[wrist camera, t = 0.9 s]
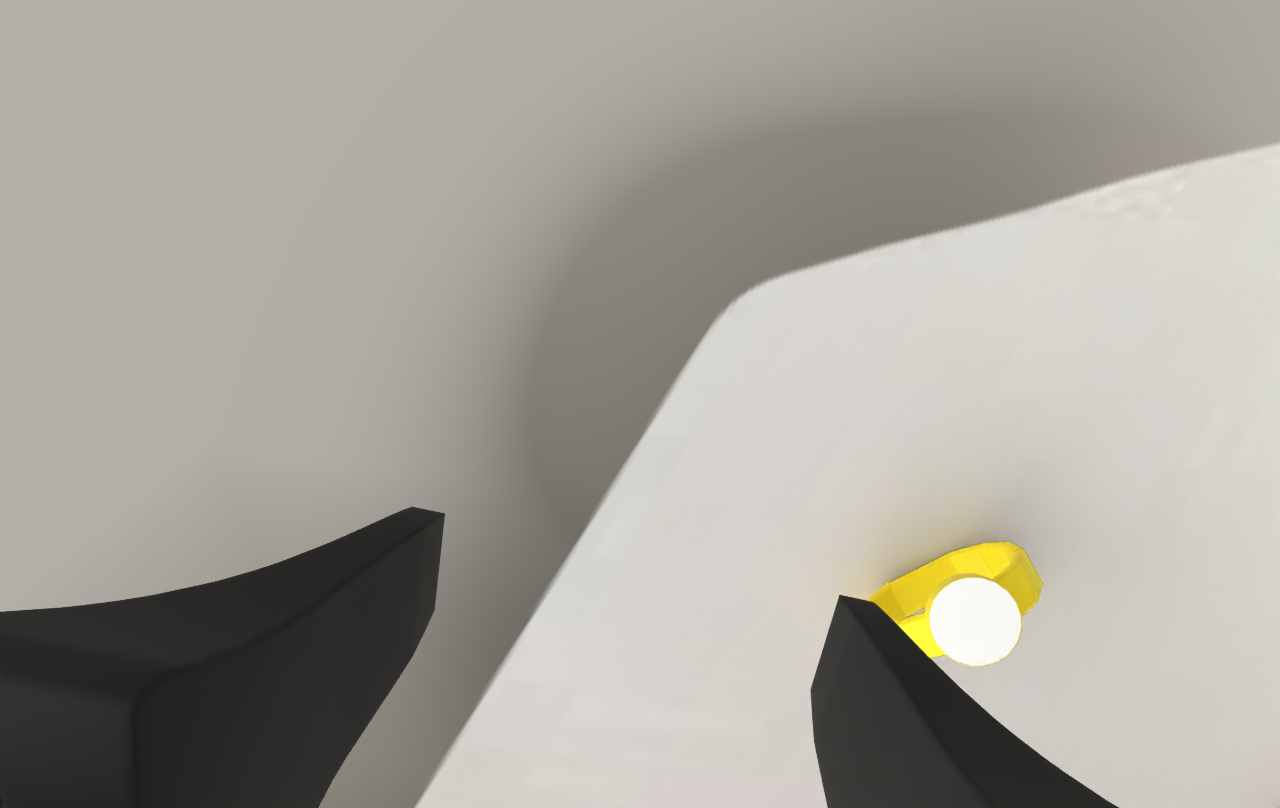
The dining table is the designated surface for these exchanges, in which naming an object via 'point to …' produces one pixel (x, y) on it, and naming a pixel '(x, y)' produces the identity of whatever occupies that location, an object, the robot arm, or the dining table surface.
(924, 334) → the dining table surface
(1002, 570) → the watch
